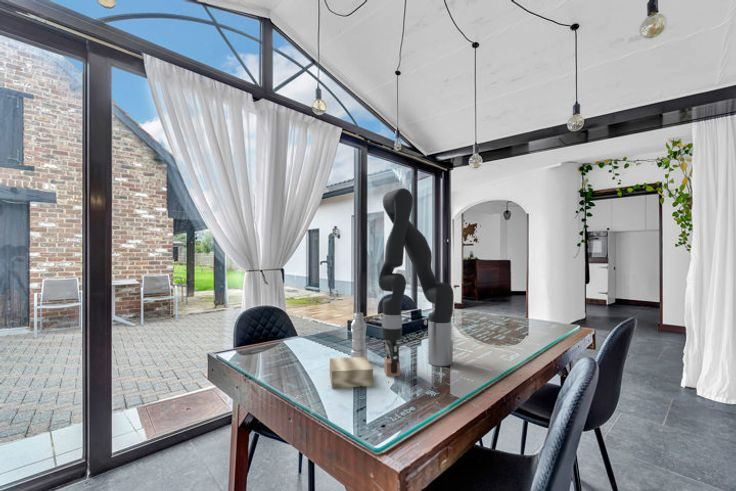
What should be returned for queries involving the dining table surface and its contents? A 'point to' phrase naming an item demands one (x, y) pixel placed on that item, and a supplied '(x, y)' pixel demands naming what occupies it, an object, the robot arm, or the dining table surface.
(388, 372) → the terracotta block
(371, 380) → the beige square slab
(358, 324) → the plastic bottle
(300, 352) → the dining table surface
